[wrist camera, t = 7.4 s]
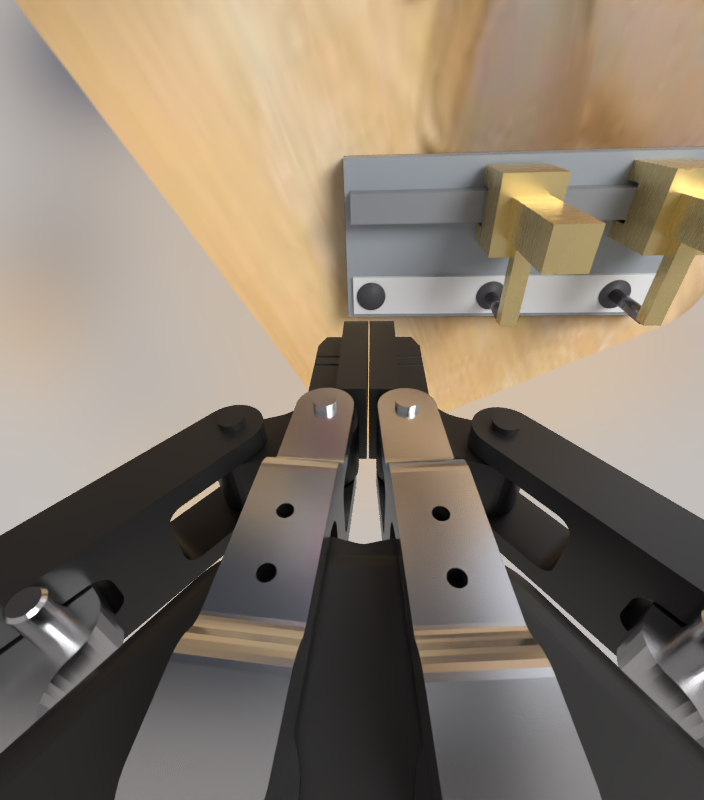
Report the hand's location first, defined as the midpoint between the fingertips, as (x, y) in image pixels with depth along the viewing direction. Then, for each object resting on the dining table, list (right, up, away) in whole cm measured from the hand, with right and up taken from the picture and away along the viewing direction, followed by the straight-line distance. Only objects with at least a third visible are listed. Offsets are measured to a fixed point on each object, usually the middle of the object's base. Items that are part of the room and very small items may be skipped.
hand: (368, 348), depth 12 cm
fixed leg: (+21, +11, +17) cm, 29 cm away
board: (+12, +12, +20) cm, 26 cm away
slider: (+11, +11, +18) cm, 23 cm away
